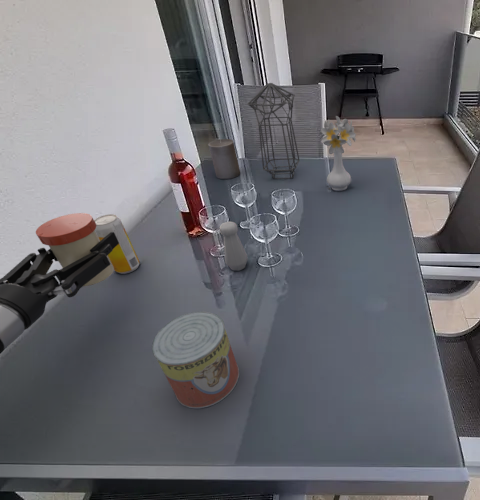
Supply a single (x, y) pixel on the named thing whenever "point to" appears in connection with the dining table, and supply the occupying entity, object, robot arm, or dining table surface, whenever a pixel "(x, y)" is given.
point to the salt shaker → (233, 247)
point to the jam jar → (80, 255)
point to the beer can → (124, 252)
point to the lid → (66, 229)
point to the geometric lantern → (251, 104)
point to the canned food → (197, 359)
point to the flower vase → (338, 151)
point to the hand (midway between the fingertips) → (95, 237)
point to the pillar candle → (224, 158)
